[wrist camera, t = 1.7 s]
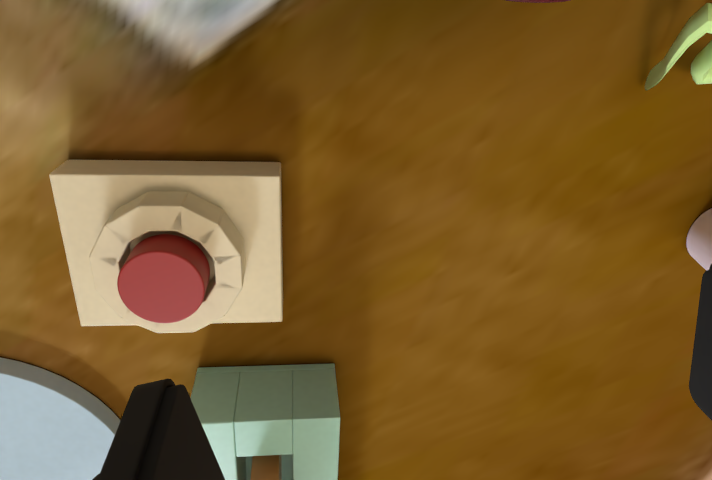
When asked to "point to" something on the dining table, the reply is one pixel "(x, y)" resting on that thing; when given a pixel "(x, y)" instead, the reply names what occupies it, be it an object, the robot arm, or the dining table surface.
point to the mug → (538, 1)
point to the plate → (50, 426)
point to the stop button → (164, 278)
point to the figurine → (707, 63)
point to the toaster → (271, 418)
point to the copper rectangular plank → (266, 467)
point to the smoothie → (701, 240)
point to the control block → (174, 233)
